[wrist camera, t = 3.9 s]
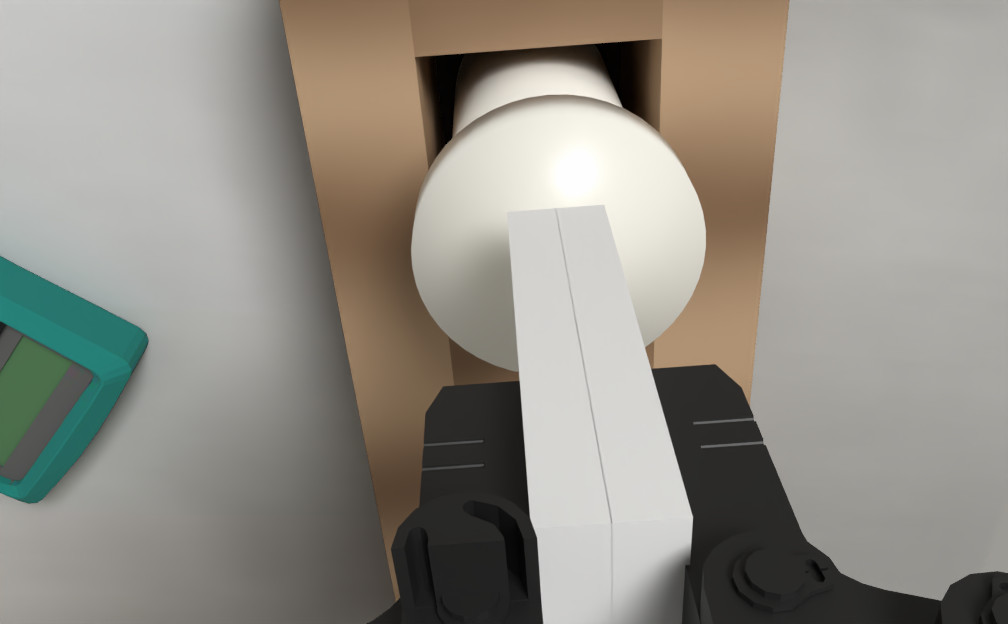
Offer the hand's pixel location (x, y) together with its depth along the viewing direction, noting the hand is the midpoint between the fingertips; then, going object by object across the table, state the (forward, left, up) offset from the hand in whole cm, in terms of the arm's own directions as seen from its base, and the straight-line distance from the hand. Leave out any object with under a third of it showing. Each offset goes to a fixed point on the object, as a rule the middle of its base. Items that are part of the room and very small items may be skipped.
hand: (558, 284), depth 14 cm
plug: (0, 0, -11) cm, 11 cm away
